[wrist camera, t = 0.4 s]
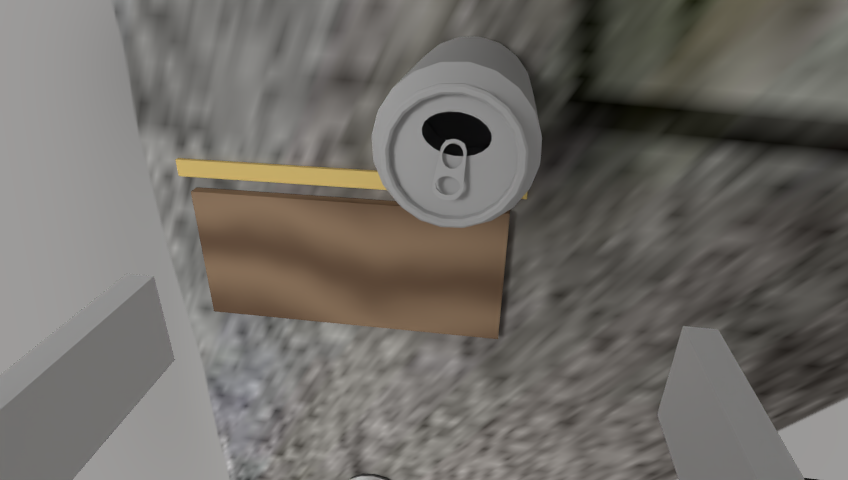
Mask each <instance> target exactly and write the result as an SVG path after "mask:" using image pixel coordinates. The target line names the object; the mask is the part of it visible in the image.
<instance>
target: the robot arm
mask: <svg viewBox="0 0 848 480" xmlns="http://www.w3.org/2000/svg"><path fill="white" fill-rule="evenodd" d="M174 360H175V359H174V355H173V351H172V347H171V343H170V339H169V335H168V331H167V327H166V323H165V319H164V315H163V311H162V307H161V303H160V299H159V295H158V291H157V287H156V283H155V279H154V276H146V275H135V274H126V275H124V276H123V277H122V278H121V279H119V280H118V281H117V282H116V283H114V284H113V285H112V286H111V287H109V288H108V289H107V290H106V291H104V292H103V293H102V294H101V295H100V296H98V297H97V298H96V299H94V300H93V301H92V302H91V303H89V304H88V305H87V306H86V307H84V308H83V309H82V310H81V311H79V312H78V313H77V314H76V315H74V316H73V317H72V318H71V319H69V320H68V321H67V322H66V323H64V324H63V325H62V326H61V327H59V328H58V329H57V330H56V331H54V332H53V333H52V334H51V335H49V336H48V337H47V338H46V339H44V340H43V341H42V342H41V343H39V344H38V345H37V346H36V347H34V348H33V349H32V350H31V351H29V352H28V353H27V354H26V355H24V356H23V357H22V358H21V359H19V360H18V361H17V362H16V363H14V364H13V365H12V366H11V367H9V368H8V369H7V370H6V371H4V372H3V373H2V374H1V375H0V480H73V478H74V477H75V476H76V475H77V474H78V472H79V471H80V470H81V469H82V468H83V467H84V465H85V464H86V463H87V462H88V461H89V460H90V458H91V457H92V456H93V455H94V454H95V453H96V451H97V450H98V449H99V448H100V447H101V445H102V444H103V443H104V442H105V441H106V439H108V437H109V436H110V435H111V434H112V433H113V431H114V430H115V429H116V428H117V427H118V426H119V424H120V423H121V422H122V421H123V420H124V419H125V417H126V416H127V415H128V414H129V413H130V412H131V410H132V409H133V408H134V407H135V406H136V405H137V403H138V402H139V401H140V400H141V399H142V398H143V396H144V395H145V394H146V393H147V391H148V390H149V389H150V388H151V387H152V386H153V385H154V383H155V382H156V381H157V380H158V379H159V378H160V376H161V375H162V374H163V373H164V372H165V371H166V369H167V368H168V367H169V366H170V365H171V363H172V362H173V361H174ZM657 415H658V418H659V421H660V424H661V427H662V430H663V433H664V437H665V440H666V443H667V446H668V449H669V452H670V455H671V458H672V461H673V464H674V467H675V470H676V473H677V476H678V479H679V480H817V479H809V478H803V476H802V474H801V472H800V471H799V469H798V467H797V465H796V464H795V462H794V460H793V458H792V457H791V455H790V453H789V452H788V450H787V448H786V446H785V445H784V443H783V441H782V439H781V438H780V436H779V434H778V432H777V431H776V429H775V427H774V425H773V424H772V422H771V420H770V418H769V417H768V415H767V413H766V412H765V410H764V408H763V406H762V405H761V403H760V401H759V399H758V398H757V396H756V394H755V392H754V391H753V389H752V387H751V386H750V384H749V382H748V380H747V379H746V377H745V375H744V373H743V372H742V370H741V368H740V366H739V365H738V363H737V361H736V360H735V358H734V356H733V354H732V353H731V351H730V349H729V347H728V346H727V344H726V342H725V340H724V339H723V337H722V335H721V333H720V332H719V330H718V329H710V328H700V327H689V326H683V328H682V331H681V335H680V338H679V341H678V345H677V348H676V352H675V355H674V359H673V362H672V365H671V369H670V372H669V376H668V379H667V383H666V386H665V389H664V393H663V396H662V400H661V403H660V407H659V410H658V413H657Z"/></svg>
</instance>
